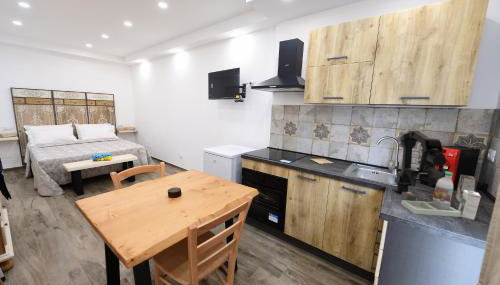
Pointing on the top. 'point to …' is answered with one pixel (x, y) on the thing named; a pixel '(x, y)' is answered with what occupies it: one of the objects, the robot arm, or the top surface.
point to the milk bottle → (444, 188)
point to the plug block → (408, 196)
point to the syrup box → (469, 204)
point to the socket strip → (428, 209)
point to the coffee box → (466, 185)
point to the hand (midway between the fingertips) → (421, 186)
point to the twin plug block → (441, 204)
